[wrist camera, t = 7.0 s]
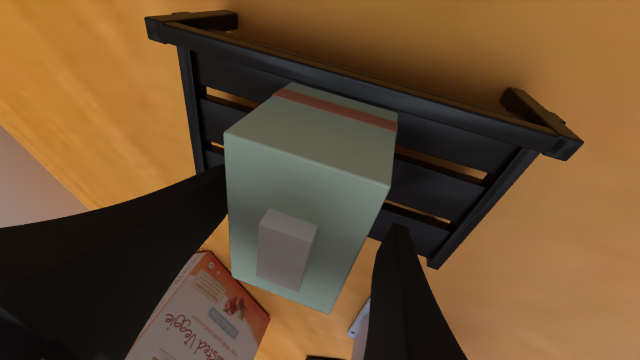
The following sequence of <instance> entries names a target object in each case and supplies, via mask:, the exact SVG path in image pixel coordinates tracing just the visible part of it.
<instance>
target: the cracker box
mask: <svg viewBox="0 0 640 360" xmlns="http://www.w3.org/2000/svg"><path fill="white" fill-rule="evenodd" d="M269 321H270V317H269V316H268V315H267V314H266V313H265V312H264V311H263V310H262V309H261V308H260V307H259V305H258V304H257V303H256V302H255V301H254V300H253V299H252V298H251V297H250V295H249V294H248V293H247V292H246V291H245V290H244V289H243V288H242V287H241V286H240V284H239V283H238V282H237V281H236V280H235V279H234V278H233V277H232V276H231V274H230V273H229V272H228V271H227V270H226V269H225V268H224V267H223V265H222V264H221V263H220V262H219V261H218V260H217V259H216V258H215V257H214V255H213V254H212V253H211V252H210V251H205V252H199V253H195V254H194V255H193V256H192V257H191V258H190V260H189V261H188V262H187V263H186V265H185V266H184V267H183V269H182V270H181V271H180V273H179V274H178V276H177V277H176V279H175V280H174V282H173V283H172V284H171V286H170V287H169V289H168V290H167V292H166V293H165V295H164V296H163V298H162V299H161V301H160V302H159V304H158V305H157V307H156V308H155V310H154V312H153V313H152V315H151V316H150V318H149V320H148V321H147V323H146V325H145V326H144V328H143V329H142V331H141V333H140V334H139V336H138V338H137V339H136V341H135V343H134V345H133V346H132V348H131V350H130V351H129V353H128V355H127V357H126V358H125V360H253V359H254V357H255V355H256V352H257V350H258V347H259V345H260V343H261V340H262V338H263V336H264V333H265V331H266V328H267V326H268V324H269Z"/></svg>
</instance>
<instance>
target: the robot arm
mask: <svg viewBox="0 0 640 360" xmlns="http://www.w3.org/2000/svg"><path fill="white" fill-rule="evenodd" d="M227 213H228V204H227V187H226V169H225V165H224V164H220V165H218V166H215V167H213V168H210V169H208V170H206V171H204V172H201V173H199V174H197V175H194V176H192V177H190V178H187V179H185V180H183V181H180V182H178V183H176V184H173V185H171V186H168V187H165V188H163V189H160V190H158V191H155V192H152V193H150V194H147V195H144V196H141V197H138V198H135V199H132V200H129V201H126V202H122V203H119V204H116V205H112V206H109V207H105V208H101V209H97V210H93V211H89V212H85V213H81V214H76V215H72V216H67V217H62V218H57V219H52V220H47V221H41V222H36V223H30V224H24V225H18V226H11V227H4V228H0V360H125V358H126V357H127V355H128V353H129V351H130V350H131V348H132V346H133V345H134V343H135V341H136V339H137V338H138V336H139V334H140V333H141V331H142V329H143V328H144V326H145V325H146V323H147V321H148V320H149V318H150V316H151V315H152V313H153V312H154V310H155V308H156V307H157V305H158V304H159V302H160V301H161V299H162V298H163V296H164V295H165V293H166V292H167V290H168V289H169V287H170V286H171V284H172V283H173V282H174V280H175V279H176V277H177V276H178V274H179V273H180V271H181V270H182V269H183V267H184V266H185V265H186V263H187V262H188V261H189V260H190V258H191V257H192V256H193V255H194V254H195V252H196V251H197V250H198V249H199V248H200V247H201V245H202V244H203V243H204V242H205V241H206V240H207V238H208V237H209V236H210V235H211V234H212V233H213V231H214V230H215V229H216V228H217V227H218V225H219V224H220V223H221V222H222V221H223V219H224V218H225V216H226V215H227ZM347 336H348V337H350V338H353V339H354V345H353V351H352V358H351V360H468V359H467V357H466V356H465V354H464V353H463V351H462V349H461V348H460V346H459V344H458V342H457V341H456V339H455V337H454V335H453V333H452V332H451V330H450V328H449V326H448V324H447V322H446V320H445V318H444V316H443V314H442V312H441V310H440V308H439V306H438V304H437V302H436V300H435V298H434V295H433V293H432V291H431V289H430V286H429V284H428V282H427V279H426V277H425V274H424V272H423V269H422V266H421V264H420V261H419V258H418V256H417V253H416V250H415V247H414V244H413V241H412V238H411V235H410V231H409V229H408V227H405V226H402V225H399V224H396V223H393V224H392V225H391V227H390V229H389V231H388V233H387V234H386V236H385V238H384V240H383V242H382V243H381V245H380V247H379V249H378V251H377V254H376V259H375V263H374V269H373V274H372V285H371V297H370V298H369V299H368V300H367V302H366V303H365V305H364V307H363V308H362V310H361V311H360V313H359V314H358V316H357V317H356V319H355V321H354V322H353V324H352V325H351V327H350V328H349V330H348V331H347Z"/></svg>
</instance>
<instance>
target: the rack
mask: <svg viewBox="0 0 640 360" xmlns="http://www.w3.org/2000/svg"><path fill="white" fill-rule="evenodd" d="M144 20H145V24H146V29H147V34H148V38H149V39H150V40H153V41H157V42H160V43H163V44H171V45H175V46H177V52H178V58H179V65H180V71H181V78H182V85H183V91H184V98H185V104H186V111H187V117H188V124H189V131H190V137H191V144H192V150H193V157H194V163H195V170H196V175H197V174H199V173H201V172H204V171H206V170H208V169H210V168H213V167H215V166H218V165H220V164H224V165H225V152H224V148H221V147H218V146H215V145H212V143H211V141H212V142H215V143H218V144H221V145H224V135H223V134H224V132H225V131H226V130H228V129H229V128H230V127H232V126H233V125H234V124H236V123H237V122H238V121H240V120H241V119H242V118H244V117H245V116H246V115H248V114H249V113H250V112H252V111H253V110H254V108H251V107H248V106H244V105H241V104H238V103H235V102H232V101H228V100H225V99H222V98H219V97H215V96H212V95H209V94H207V90H206V86H207V87H210V88H213V89H217V90H220V91H223V92H226V93H230V94H233V95H236V96H239V97H243V98H246V99H249V100H252V101H256V102H259V103H264V102H265V101H266V100H268V99H269V98H271V97H272V95H273V94H274V93H275V92H277V91H278V90H280V89H281V88H284V87H285V86H287V85H288V84H289V83H291V82H294V83H297V84H301V85H304V86H308V87H311V88H314V89H318V90H321V91H325V92H328V93H332V94H335V95H338V96H342V97H345V98H349V99H352V100H355V101H359V102H362V103H366V104H369V105H372V106H376V107H379V108H383V109H386V110H389V111H393V112H396V113H398V118H397V123H398V127H397V134H396V138H395V144H396V145H399V146H402V147H405V148H409V149H412V150H415V151H418V152H422V153H425V154H428V155H431V156H435V157H438V158H441V159H444V160H448V161H451V162H454V163H457V164H461V165H464V166H467V167H470V168H474V169H477V170H480V171H483V172H487V173H488V174H487V175H486V176H485V177H484V179H479V178H476V177H473V176H470V175H467V174H463V173H460V172H457V171H454V170H450V169H447V168H444V167H441V166H438V165H434V164H431V163H428V162H425V161H421V160H418V159H415V158H412V157H409V156H405V155H402V154H399V153H396V152H394V158H393V168H392V178H391V188H390V190H389V192H388V194H387V196H386V198H385V199H387V200H390V201H393V202H396V203H399V204H402V205H405V206H408V207H411V208H414V209H417V210H420V211H423V212H426V213H429V214H432V215H435V216H438V217H441V218H444V219H447V220H450V221H451V222H450V223H446V222H443V221H440V220H437V219H435V218H432V217H429V216H426V215H422V214H419V213H416V212H413V211H410V210H407V209H404V208H401V207H398V206H395V205H392V204H389V203H386V202H383V204H382V207H381V209H380V211H379V213H378V215H377V217H376V219H375V221H374V223H373V225H372V227H371V229H370V231H369V234H368V236H367V237H369V238H372V239H375V240H378V241H380V242H383V240H384V238H385V236H386V234H387V233H388V231H389V229H390V227H391V225H392V224H393V223H396V224H399V225H402V226H405V227H408V229H409V231H410V235H411V238H412V241H413V244H414V247H415V250H416V253H417V254H418V255H420V256H423V257H426V260H427V267H430V268H433V269H436V270H438V269H439V268H440V267H441V266H442V265H443V264H444V262H445V261H446V260H447V259H448V258H449V257H450V256H451V254H452V253H453V252H454V251H455V250H456V249H457V248H458V246H459V245H460V244H461V243H462V242H463V241H464V239H465V238H466V237H467V236H468V235H469V234H470V233H471V231H472V230H473V229H474V228H475V227H476V226H477V225H478V223H479V222H480V221H481V220H482V219H483V218H484V217H485V215H486V214H487V213H488V212H489V211H490V210H491V209H492V207H493V206H494V205H495V204H496V203H497V202H498V201H499V199H500V198H501V197H502V196H503V195H504V194H505V193H506V191H507V190H508V189H509V188H510V187H511V186H512V185H513V183H514V182H515V181H516V180H517V179H518V178H519V177H520V175H521V174H522V173H523V172H524V171H525V170H526V169H527V167H528V166H529V165H530V164H531V163H532V162H533V161H534V159H535V158H536V157H537V156H538V155H539V154H540V153H542V154H543V155H545V156H548V157H552V158H555V159H559V160H562V161H567V160H568V159H569V158H570V157H571V156H572V155H573V154H574V153H575V152H576V151H577V150H578V149H579V148H580V147H581V146H582V145H583V143H584V141H583V140H581V139H580V138H579V137H578V136H577V135H576V134H574V133H573V132H572V131H571V130H570V129H568V128H567V127H566V126H565V124H566V122H565V121H563V120H562V119H561V118H560V117H559V116H557V115H556V114H555V113H552V112H549V111H547V110H546V109H545V108H544V107H543V106H541V105H540V104H539V103H538V102H537V101H536V100H534V99H533V98H532V97H531V96H530V95H528V94H527V93H526V92H525V91H523V90H520V89H516V88H512V87H508V88H507V90H506V91H505V93H504V95H503V96H502V98H501V99H500V101H499V102H500V104H501V105H502V106H503V107H504V108H505V110H506V111H505V110H501V109H498V108H494V107H491V106H487V105H484V104H480V103H476V102H473V101H469V100H466V99H462V98H459V97H455V96H451V95H448V94H444V93H441V92H437V91H434V90H430V89H427V88H423V87H419V86H416V85H412V84H409V83H405V82H402V81H398V80H394V79H391V78H387V77H384V76H380V75H377V74H373V73H369V72H366V71H362V70H359V69H355V68H352V67H348V66H344V65H341V64H337V63H334V62H330V61H327V60H323V59H319V58H316V57H312V56H309V55H305V54H302V53H298V52H295V51H291V50H287V49H284V48H280V47H277V46H273V45H270V44H266V43H262V42H259V41H255V40H252V39H248V38H245V37H241V36H237V35H234V34H230V33H227V32H226V31H231V30H236V29H237V28H238V21H237V13H235V12H231V11H227V10H218V11H207V12H195V13H190V12H177V13H172V15H161V16H149V17H145V18H144Z"/></svg>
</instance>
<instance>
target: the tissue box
mask: <svg viewBox="0 0 640 360" xmlns="http://www.w3.org/2000/svg"><path fill="white" fill-rule="evenodd" d="M397 118H398V113H396V112H393V111H389V110H386V109H383V108H379V107H376V106H372V105H369V104H366V103H362V102H359V101H355V100H352V99H349V98H345V97H342V96H338V95H335V94H332V93H328V92H325V91H321V90H318V89H314V88H311V87H308V86H304V85H301V84H297V83H294V82H291V83H289V84H288V85H287V86H285V87H284V88H281V89H280V90H278V91H277V92H275V93H274V94H273V95H272V97H271V98H269V99H268V100H266V101H265V102H264V103H262V104H261V105H260V106H258V107H257V108H256V109H254V110H253V111H252V112H250V113H249V114H248V115H246V116H245V117H244V118H242V119H241V120H240V121H238V122H237V123H236V124H234V125H233V126H232V127H230V128H229V129H228V130H226V131H225V132H224V134H223V135H224V152H225V169H226V187H227V204H228V221H229V238H230V255H231V272H232V277H233V278H236V279H238V280H241V281H243V282H246V283H248V284H251V285H253V286H256V287H259V288H261V289H264V290H266V291H269V292H271V293H274V294H277V295H279V296H282V297H284V298H287V299H289V300H292V301H295V302H297V303H300V304H302V305H305V306H307V307H310V308H313V309H315V310H318V311H320V312H323V313H325V314H330V312H331V310H332V308H333V306H334V304H335V302H336V300H337V298H338V296H339V294H340V292H341V290H342V288H343V285H344V283H345V281H346V279H347V277H348V275H349V273H350V271H351V269H352V267H353V265H354V263H355V261H356V258H357V256H358V254H359V252H360V250H361V248H362V246H363V244H364V242H365V240H366V238H367V236H368V234H369V231H370V229H371V227H372V225H373V223H374V221H375V219H376V217H377V215H378V213H379V211H380V209H381V207H382V204H383V202H384V200H385V198H386V196H387V194H388V192H389V190H390V188H391V178H392V168H393V158H394V148H395V138H396V134H397V127H398V123H397Z"/></svg>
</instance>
